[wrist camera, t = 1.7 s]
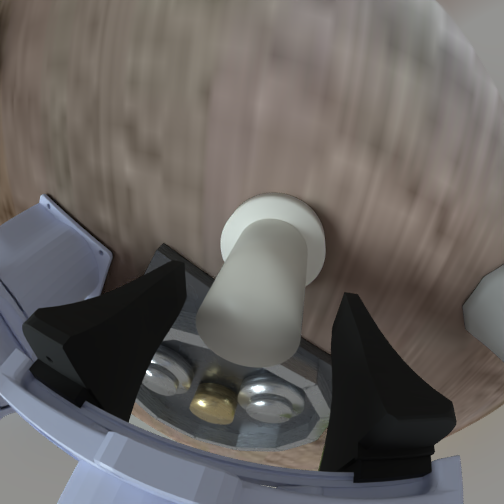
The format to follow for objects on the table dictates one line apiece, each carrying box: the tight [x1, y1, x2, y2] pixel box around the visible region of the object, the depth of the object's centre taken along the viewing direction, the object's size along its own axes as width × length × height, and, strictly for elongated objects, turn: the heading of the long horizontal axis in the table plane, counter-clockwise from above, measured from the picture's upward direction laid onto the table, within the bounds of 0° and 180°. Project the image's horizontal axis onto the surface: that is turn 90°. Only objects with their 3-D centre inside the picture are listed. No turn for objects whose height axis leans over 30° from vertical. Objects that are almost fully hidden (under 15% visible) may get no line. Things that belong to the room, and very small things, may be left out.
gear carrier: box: [135, 243, 332, 451], centre depth 25 cm, size 24×24×4 cm
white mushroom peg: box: [196, 192, 326, 368], centre depth 13 cm, size 6×6×8 cm
